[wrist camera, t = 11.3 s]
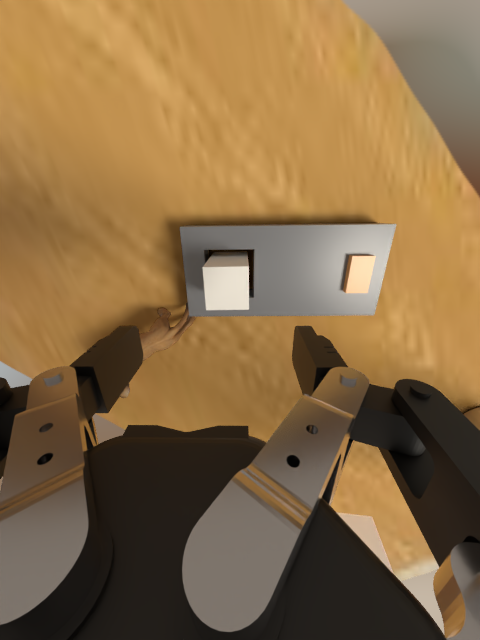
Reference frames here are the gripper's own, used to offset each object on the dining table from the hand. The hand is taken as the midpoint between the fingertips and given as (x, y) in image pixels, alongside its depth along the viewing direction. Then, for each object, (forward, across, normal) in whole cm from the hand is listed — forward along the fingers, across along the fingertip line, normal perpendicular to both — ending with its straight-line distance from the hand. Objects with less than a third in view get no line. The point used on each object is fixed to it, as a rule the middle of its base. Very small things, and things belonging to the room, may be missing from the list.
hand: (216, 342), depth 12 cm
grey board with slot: (+19, -6, 0) cm, 20 cm away
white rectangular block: (+19, 0, 0) cm, 19 cm away
